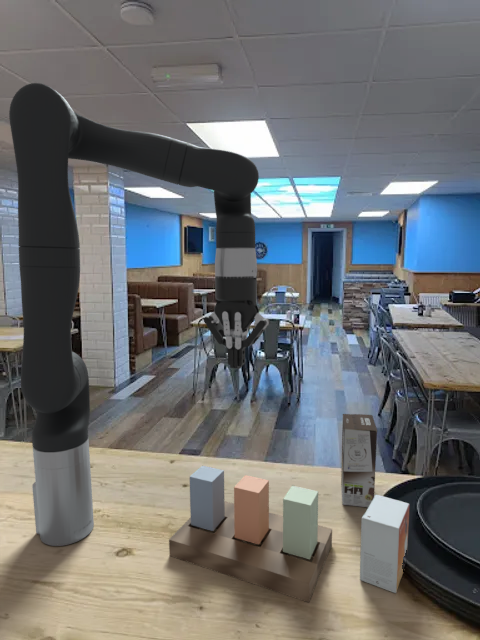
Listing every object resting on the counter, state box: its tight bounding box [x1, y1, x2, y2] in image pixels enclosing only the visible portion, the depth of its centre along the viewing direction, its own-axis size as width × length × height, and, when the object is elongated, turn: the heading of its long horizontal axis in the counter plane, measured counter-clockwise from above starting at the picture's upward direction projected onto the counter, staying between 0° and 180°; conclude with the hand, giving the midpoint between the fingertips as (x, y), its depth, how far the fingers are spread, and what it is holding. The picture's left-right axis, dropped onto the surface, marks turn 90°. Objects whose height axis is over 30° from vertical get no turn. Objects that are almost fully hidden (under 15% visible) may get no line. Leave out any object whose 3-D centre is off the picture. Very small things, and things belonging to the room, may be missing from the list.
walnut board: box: [168, 500, 333, 603], centre depth 74 cm, size 24×14×3 cm, turn 65°
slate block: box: [189, 465, 225, 532], centre depth 77 cm, size 4×4×9 cm
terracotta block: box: [233, 474, 270, 546], centre depth 73 cm, size 4×4×9 cm
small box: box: [359, 494, 411, 594], centre depth 68 cm, size 8×6×10 cm
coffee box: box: [340, 413, 378, 508], centre depth 90 cm, size 9×6×16 cm
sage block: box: [282, 485, 319, 560], centre depth 70 cm, size 4×4×9 cm
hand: (236, 367), depth 81 cm, fingers closed
